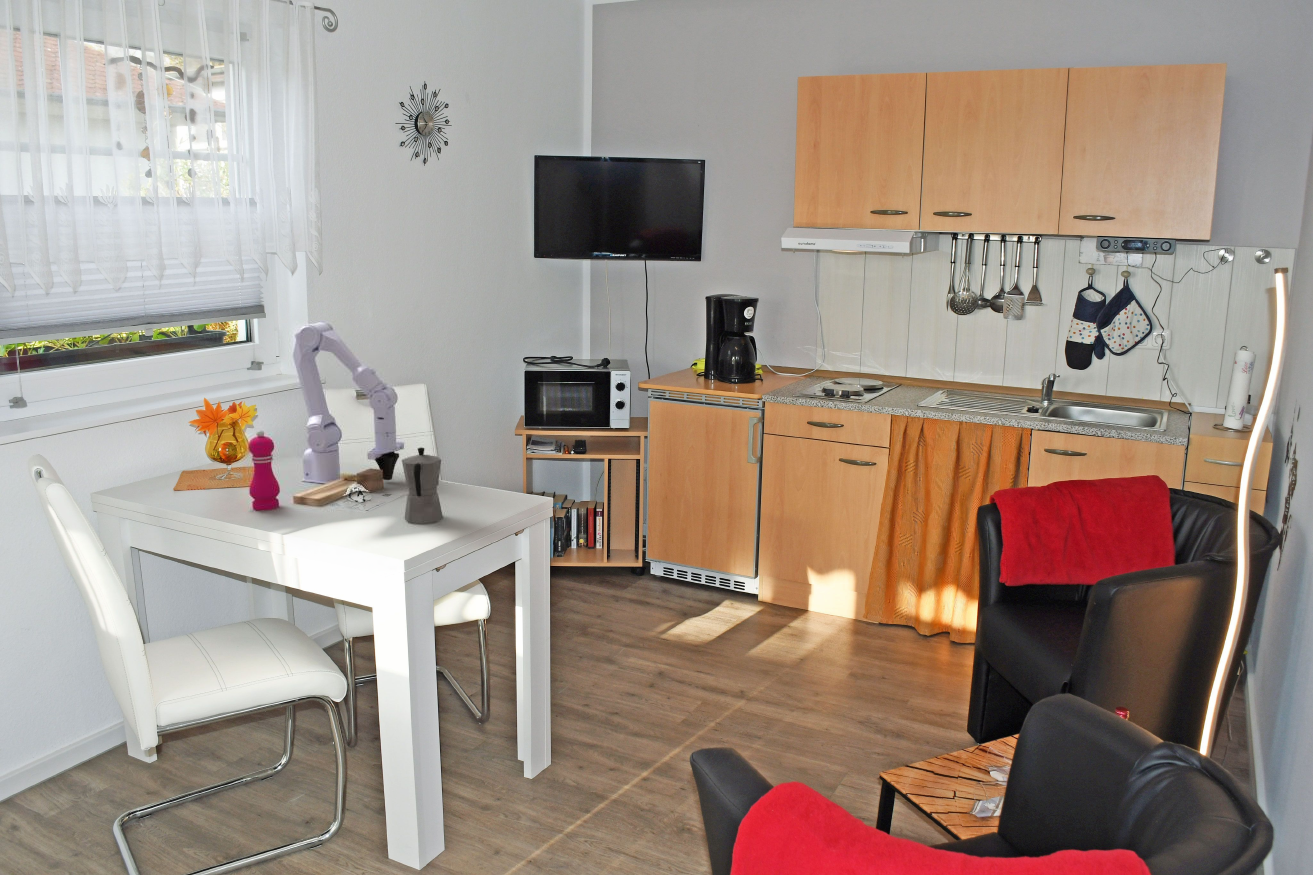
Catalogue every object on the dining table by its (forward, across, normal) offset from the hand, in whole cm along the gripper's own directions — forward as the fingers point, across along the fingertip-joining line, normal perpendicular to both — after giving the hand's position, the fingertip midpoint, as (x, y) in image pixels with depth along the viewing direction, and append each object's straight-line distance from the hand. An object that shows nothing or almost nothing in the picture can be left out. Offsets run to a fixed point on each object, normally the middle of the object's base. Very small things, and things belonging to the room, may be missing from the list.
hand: (387, 479), depth 273 cm
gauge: (+1, -8, +4) cm, 9 cm away
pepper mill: (+1, -32, +14) cm, 35 cm away
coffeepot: (+1, -27, -29) cm, 39 cm away
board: (+1, -16, +6) cm, 17 cm away
